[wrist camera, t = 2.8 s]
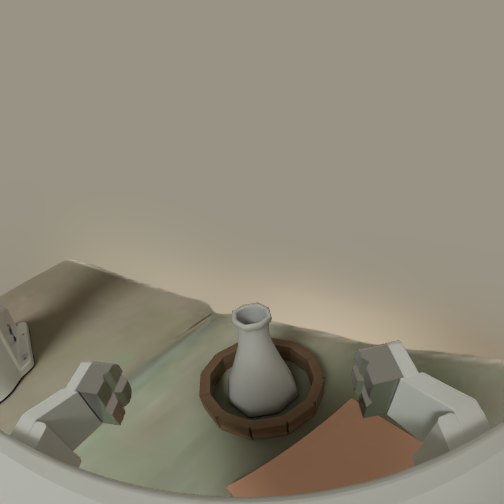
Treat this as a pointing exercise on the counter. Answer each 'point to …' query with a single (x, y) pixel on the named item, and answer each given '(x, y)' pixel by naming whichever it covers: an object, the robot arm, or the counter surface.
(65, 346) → the counter surface
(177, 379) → the counter surface
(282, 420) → the ring holder
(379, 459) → the terracotta pad
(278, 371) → the flask
